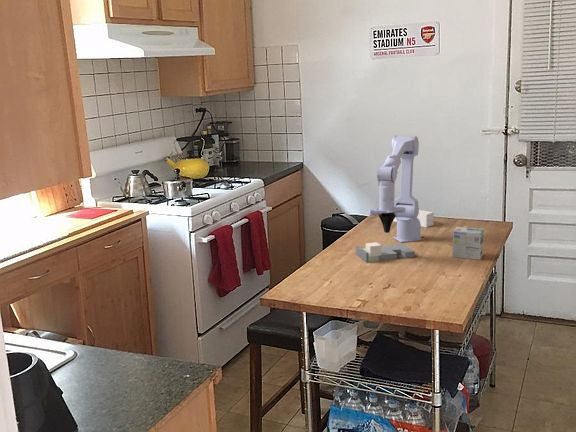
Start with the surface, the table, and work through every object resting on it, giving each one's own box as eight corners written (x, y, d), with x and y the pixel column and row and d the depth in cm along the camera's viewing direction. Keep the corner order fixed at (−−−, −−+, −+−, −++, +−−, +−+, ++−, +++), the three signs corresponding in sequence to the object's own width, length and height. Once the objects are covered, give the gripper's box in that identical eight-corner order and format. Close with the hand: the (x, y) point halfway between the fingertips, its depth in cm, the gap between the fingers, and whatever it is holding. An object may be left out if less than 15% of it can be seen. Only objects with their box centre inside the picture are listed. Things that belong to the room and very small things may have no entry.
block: (376, 252, 256) (376, 242, 256) (381, 255, 252) (381, 245, 251) (365, 253, 255) (365, 243, 254) (370, 256, 251) (370, 246, 250)
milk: (426, 214, 296) (385, 207, 311) (426, 227, 298) (385, 220, 312) (434, 212, 300) (393, 205, 315) (433, 225, 302) (393, 217, 317)
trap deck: (402, 249, 267) (402, 240, 266) (414, 256, 256) (414, 247, 256) (356, 254, 262) (355, 245, 261) (366, 262, 252) (366, 253, 251)
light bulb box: (483, 255, 256) (484, 228, 253) (480, 260, 250) (481, 232, 247) (455, 252, 260) (456, 226, 258) (451, 257, 254) (452, 230, 252)
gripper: (373, 201, 247) (373, 236, 250) (408, 198, 250) (408, 232, 253) (366, 197, 253) (366, 231, 256) (401, 194, 257) (400, 228, 260)
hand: (386, 232), depth 255 cm, fingers closed
